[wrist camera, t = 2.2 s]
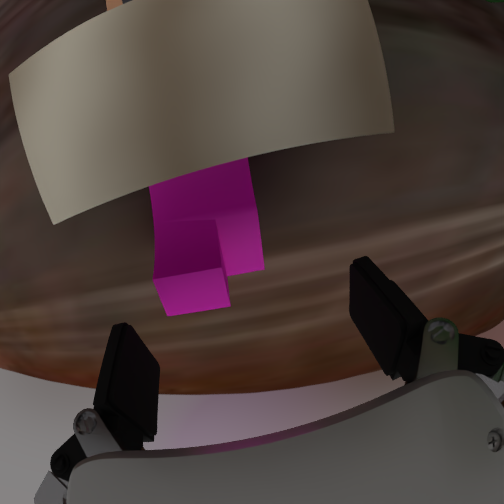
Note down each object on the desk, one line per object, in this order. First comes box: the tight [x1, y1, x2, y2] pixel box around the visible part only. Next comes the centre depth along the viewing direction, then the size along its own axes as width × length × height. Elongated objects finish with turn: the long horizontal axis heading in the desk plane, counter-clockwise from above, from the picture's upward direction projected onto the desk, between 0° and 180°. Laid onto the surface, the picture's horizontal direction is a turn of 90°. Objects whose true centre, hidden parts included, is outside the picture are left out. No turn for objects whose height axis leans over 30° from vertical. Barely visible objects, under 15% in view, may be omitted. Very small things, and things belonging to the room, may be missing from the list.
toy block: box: [149, 157, 265, 316], centre depth 15 cm, size 15×6×8 cm, turn 7°
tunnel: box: [9, 0, 394, 225], centre depth 11 cm, size 12×6×11 cm, turn 102°
